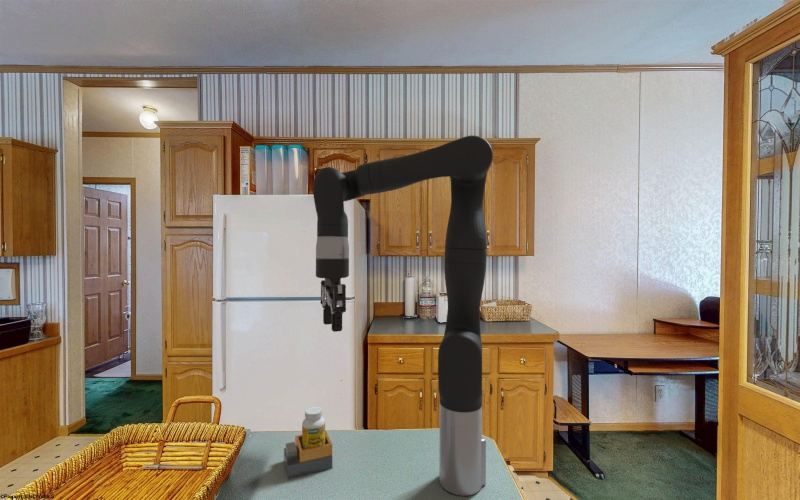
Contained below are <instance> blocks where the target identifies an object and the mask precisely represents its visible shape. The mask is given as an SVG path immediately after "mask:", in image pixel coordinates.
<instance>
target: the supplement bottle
mask: <svg viewBox="0 0 800 500" xmlns="http://www.w3.org/2000/svg"><path fill="white" fill-rule="evenodd" d="M304 417H305V418H304V419H303V420H302V424H301V427H302V428H301V429H302V430H301V432H302V434H301V435H302V449H307V448H311V447H316V446H321V445H325V430H326V420H325V417H323V409H322V408H321V407H318V406H314V407H309V408H307V409H306V410H305V411H304Z"/></svg>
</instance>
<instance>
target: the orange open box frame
mask: <svg viewBox="0 0 800 500" xmlns="http://www.w3.org/2000/svg"><path fill="white" fill-rule="evenodd" d="M283 463H284V467H285V468H284V469H285V473H286V478H287V480H291V479H294V478H298V477H302V476H307V475H311V474H314V473H318V472H321V471H327V470H330V469H333V443H332V440H331V439H330V437H329V435H328V432H327V430H326V429H325V445H321V446H316V447H311V448H307V449H302V434H299V435H294V441H292V442H291V441H290V442H288V443H285V447H283Z"/></svg>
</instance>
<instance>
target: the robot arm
mask: <svg viewBox="0 0 800 500" xmlns="http://www.w3.org/2000/svg"><path fill="white" fill-rule="evenodd" d="M493 159H494V151H493V148H492V146H491V144H490V143H489V142H488V140H487V139H486V138H484V137H481V136H479V135H474V134H473V135H467V136H464V137H460V138H458V139H455V140H452V141H449V142H447V143H444V144H442V145H439V146H436V147H433V148H429V149H427V150H423V151H418V152H415V153H411V154H408V155H402V156H398V157H394V158H393V157H392V158H387V159H381V160H376V161H372V162H366V163H362V164H360V165H358V166H357V167H356V169H353V170H349V171H343V172H341V171H340V170H338V169H337V168H334V167H331V166H326V167H322V168H321V169H320V170H318V171H317V172H316V173H315V175H314V178H313V183H312V192H313V193H312V194H313V199H314V200H313V201H314V208H315V212H316V217H317V221H316V223H317V224H316V230H317V231H316V245H315V277H316V278H318V279H324V280H321V281H320V305H321V308H322V312H323V314H322V319H323V320H322V321H323V322H322V323H323V324H324V325H331V331H332V332H335V333H337V332H341V331H343V314H344V313H346V312H347V301H346V300H347V299H346V298H347V293H346V290H347V289H346V288H347V286H346V284H344V283H342V281H341V279H345V278H348V277H349V276H350V243H349V220H348V215H347V213H346V211H345V207H344V206H345V205H344V202H348V201H351V200H356V199H359V198H361V197H364V196H367V195H374V194H381V193H385V192H392V191H395V190H400V189H402V188H405V187H409V186H410V185H414V184H416V183H417V184H418V183H420V182H424V181H428V180H431V179H438V178H447V177H448V178H450V195H451V196H450V211H449V217H448V219H447V220H448V221H447V227H446V232H445V234H446V235H445V242H444V259H443V261H444V264H443V267H444V268H443V270H444V281H445V282H444V283H445V291H446V297H447V314H446V321H445V329H444V334H443V338H442V340H441V342H440V344H439V347H438V353H437V385H438V387H437V389H438V394H439V450H438V451H439V460H438V461H439V473H438V474H439V483H440V485H441V488H443V489H444V490H445V491H447V492H449V493H451V494H452V495H456V496H462V497H463V496H464V497H465V496H472V495H475V494H477V493H479V491H480V490H481V489H482V488H483V486H485V485H487V442H486V439H485V438H483V344H482V343H483V342H482V337H481V336H482V334H481V317H480V316H481V315H480V314H481V313H480V311H481V301H482V296H483V292H484V291H483V290H484V285H485V279H486V271H487V253H488V250H487V249H488V240H487V227H486V221H485V213H484V212H485V211H484V198H485V197H484V196H485V189H486V182H487V176H488V172H489V169H490V168H491V165H492V163H493V161H494V160H493Z"/></svg>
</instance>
